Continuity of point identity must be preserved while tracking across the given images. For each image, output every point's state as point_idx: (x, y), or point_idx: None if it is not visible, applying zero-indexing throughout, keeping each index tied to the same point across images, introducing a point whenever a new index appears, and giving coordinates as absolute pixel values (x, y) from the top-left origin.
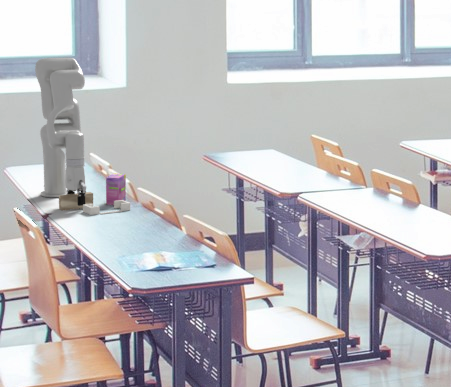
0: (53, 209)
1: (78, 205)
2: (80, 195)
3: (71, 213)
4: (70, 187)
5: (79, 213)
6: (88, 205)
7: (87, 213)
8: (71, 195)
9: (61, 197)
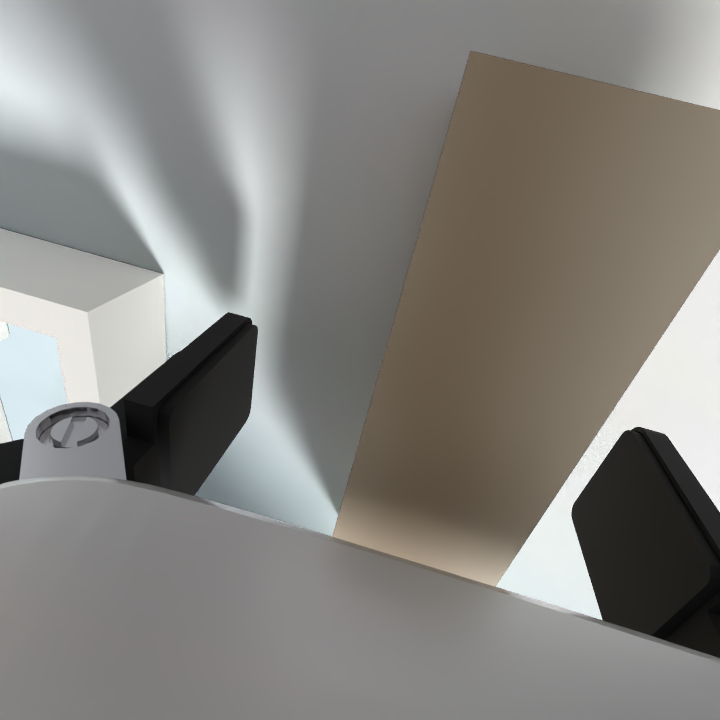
0: (713, 8)
1: (230, 315)
2: (52, 431)
3: (154, 65)
4: (357, 657)
5: (99, 170)
6: (74, 364)
7: (34, 238)
8: (374, 410)
9: (503, 65)
